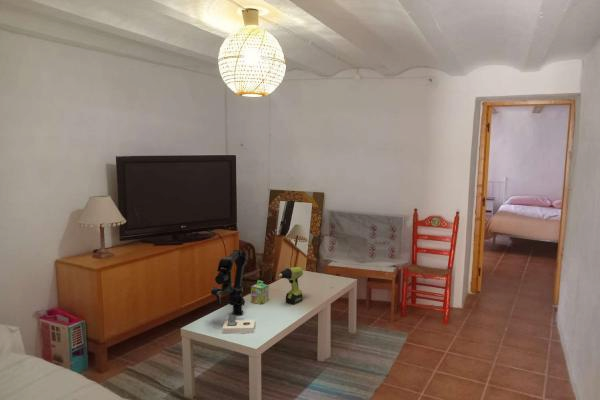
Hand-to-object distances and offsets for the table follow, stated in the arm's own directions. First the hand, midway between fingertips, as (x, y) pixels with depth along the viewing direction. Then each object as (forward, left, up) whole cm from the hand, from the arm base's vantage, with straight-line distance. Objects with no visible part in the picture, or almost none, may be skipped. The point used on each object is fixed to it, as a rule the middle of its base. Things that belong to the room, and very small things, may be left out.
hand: (227, 303), depth 267 cm
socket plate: (+10, +8, -12) cm, 17 cm away
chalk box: (-35, +17, -12) cm, 41 cm away
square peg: (+10, +4, -12) cm, 16 cm away
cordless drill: (-30, +38, -12) cm, 50 cm away
